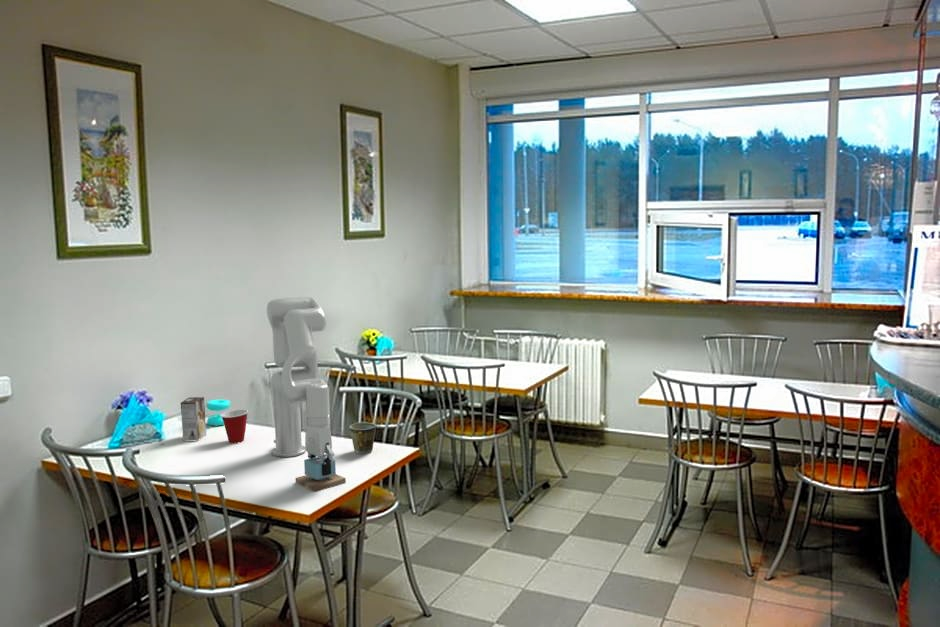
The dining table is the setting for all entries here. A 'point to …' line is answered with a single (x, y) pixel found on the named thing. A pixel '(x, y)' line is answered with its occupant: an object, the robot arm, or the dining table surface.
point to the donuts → (217, 406)
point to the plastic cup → (235, 424)
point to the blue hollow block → (317, 468)
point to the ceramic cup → (363, 437)
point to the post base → (320, 481)
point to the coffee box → (193, 418)
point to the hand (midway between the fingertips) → (320, 471)
